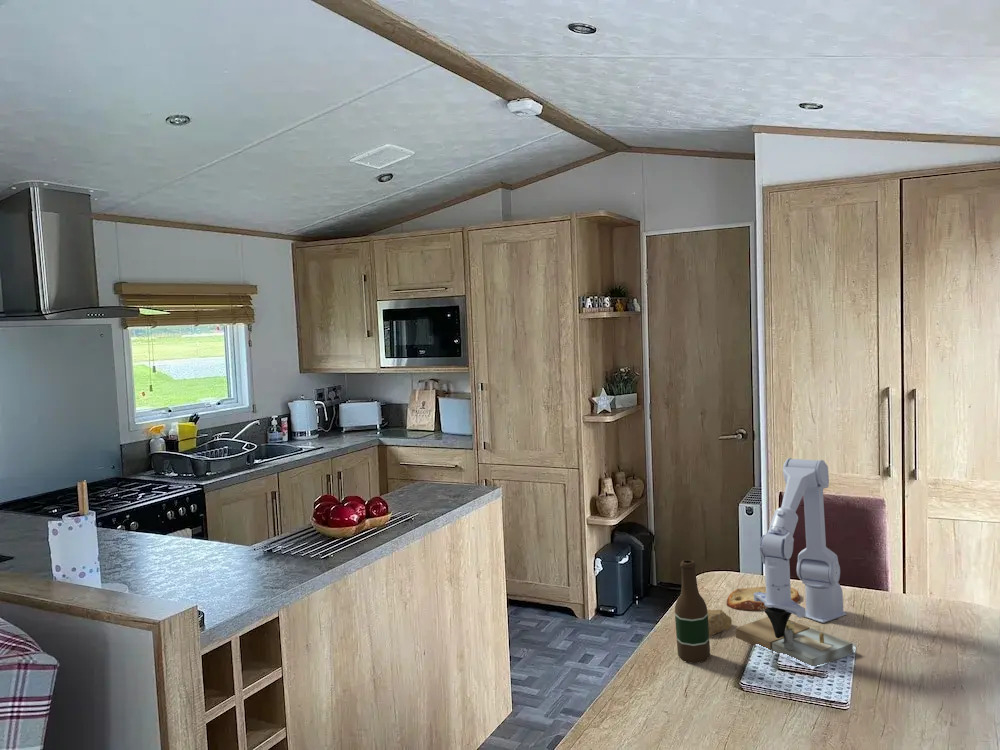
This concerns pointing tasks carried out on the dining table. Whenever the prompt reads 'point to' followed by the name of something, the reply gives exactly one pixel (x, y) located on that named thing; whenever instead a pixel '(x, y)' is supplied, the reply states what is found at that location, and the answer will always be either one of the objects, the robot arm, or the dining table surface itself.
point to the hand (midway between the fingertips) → (780, 637)
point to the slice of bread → (752, 599)
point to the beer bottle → (691, 618)
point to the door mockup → (797, 642)
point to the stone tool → (718, 621)
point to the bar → (789, 636)
